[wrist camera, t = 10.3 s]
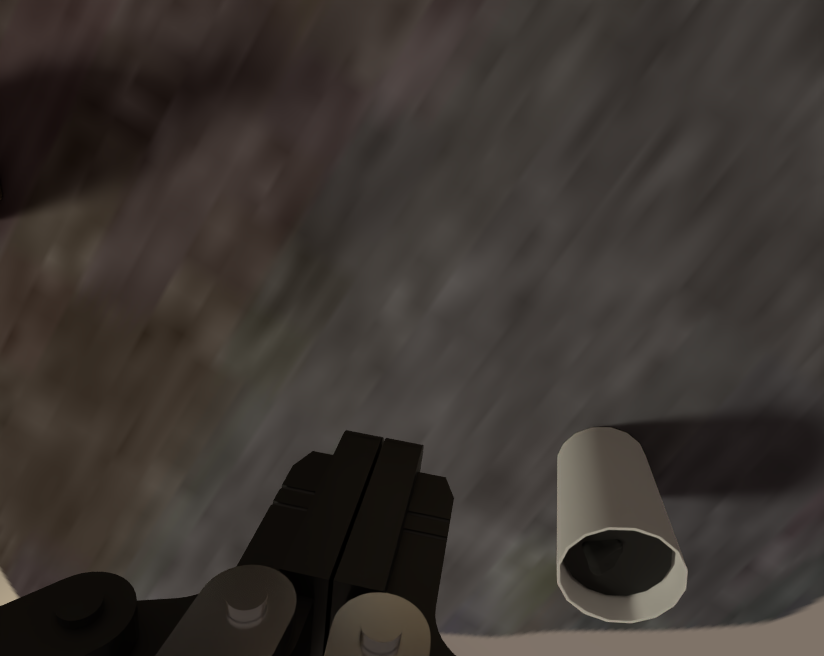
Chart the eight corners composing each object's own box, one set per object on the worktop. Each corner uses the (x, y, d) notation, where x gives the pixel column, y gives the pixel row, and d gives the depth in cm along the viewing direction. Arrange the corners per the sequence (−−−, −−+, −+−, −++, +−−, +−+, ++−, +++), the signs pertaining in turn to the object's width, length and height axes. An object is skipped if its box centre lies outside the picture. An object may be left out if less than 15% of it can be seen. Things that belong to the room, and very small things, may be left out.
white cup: (561, 509, 45) (570, 628, 36) (540, 430, 42) (543, 535, 33) (661, 496, 43) (696, 617, 34) (644, 412, 40) (677, 518, 31)
